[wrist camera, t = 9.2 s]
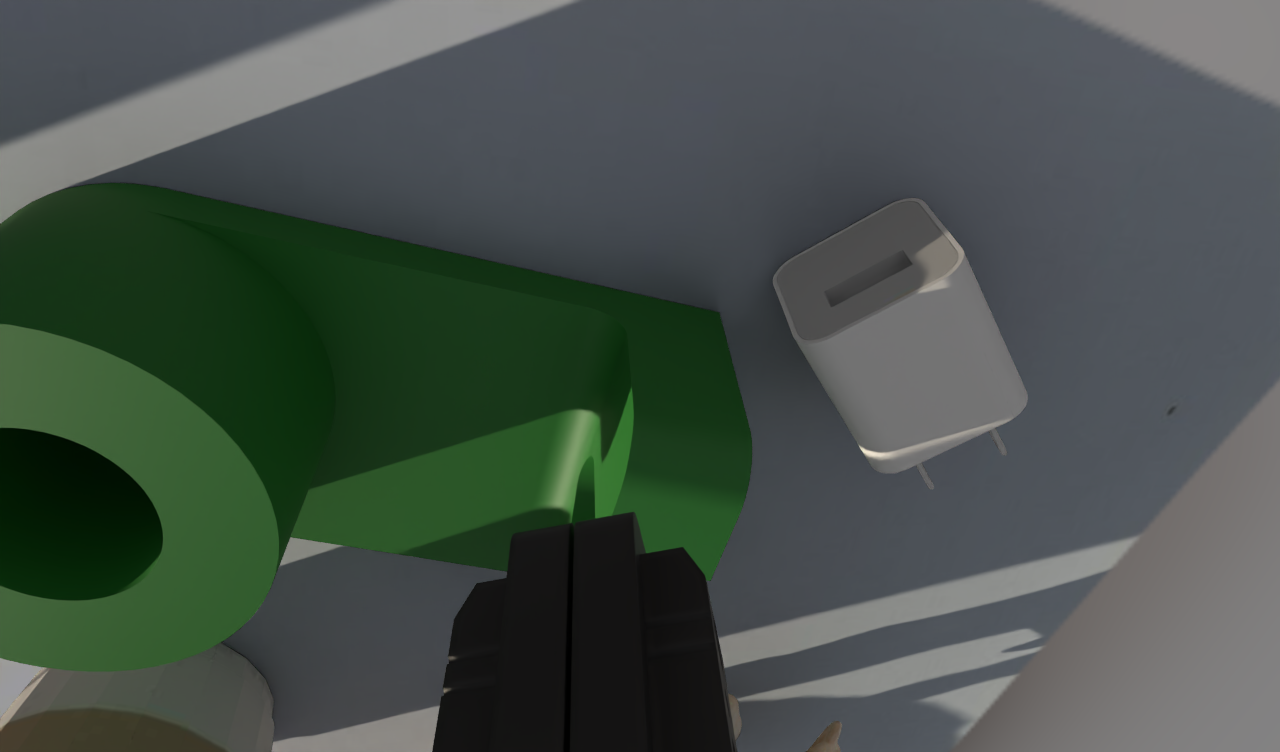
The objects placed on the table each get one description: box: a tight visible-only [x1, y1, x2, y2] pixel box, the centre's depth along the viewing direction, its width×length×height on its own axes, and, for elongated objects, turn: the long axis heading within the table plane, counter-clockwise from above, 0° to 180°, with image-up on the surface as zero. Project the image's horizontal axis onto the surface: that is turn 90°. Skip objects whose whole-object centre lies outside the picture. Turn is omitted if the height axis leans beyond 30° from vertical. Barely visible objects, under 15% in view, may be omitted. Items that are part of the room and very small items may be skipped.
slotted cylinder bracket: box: [0, 183, 752, 672], centre depth 22 cm, size 18×9×6 cm, turn 74°
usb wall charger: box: [773, 198, 1028, 489], centre depth 23 cm, size 4×7×4 cm, turn 31°
